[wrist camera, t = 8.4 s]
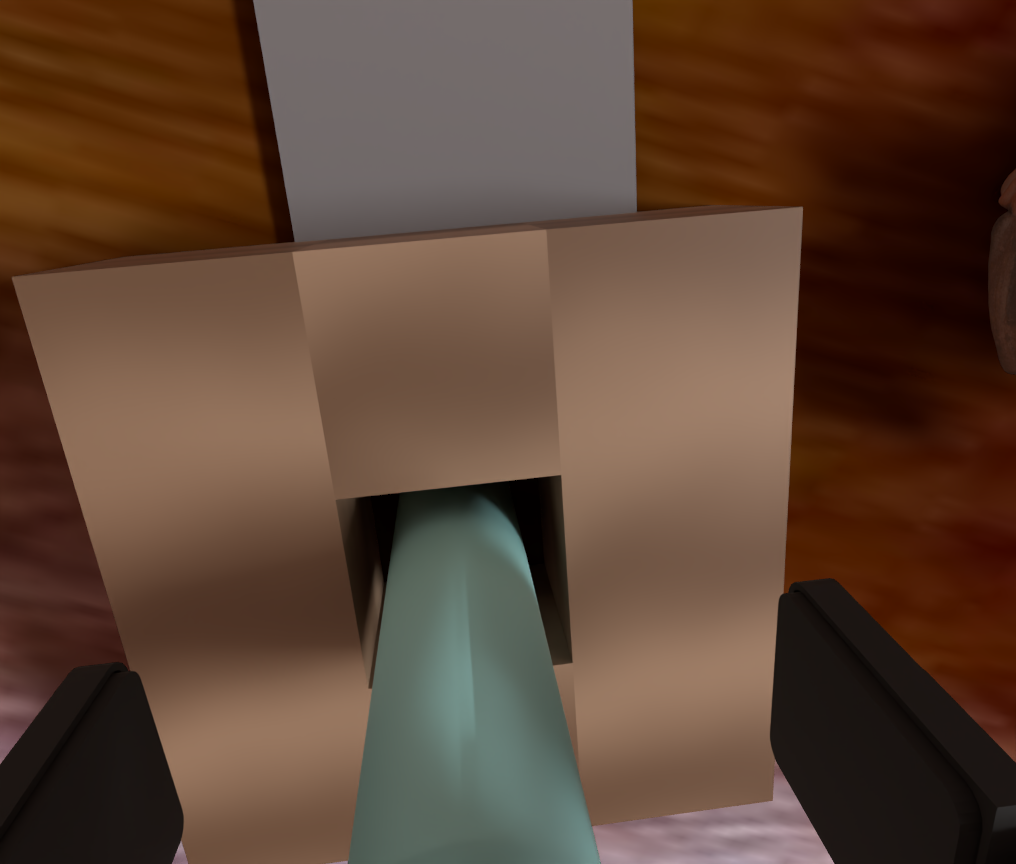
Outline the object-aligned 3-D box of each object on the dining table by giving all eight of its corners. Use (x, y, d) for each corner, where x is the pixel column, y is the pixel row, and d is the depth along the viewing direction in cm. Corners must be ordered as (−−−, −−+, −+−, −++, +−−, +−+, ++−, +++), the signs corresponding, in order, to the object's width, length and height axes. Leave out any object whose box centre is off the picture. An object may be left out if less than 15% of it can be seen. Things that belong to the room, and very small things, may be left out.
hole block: (123, 256, 16) (11, 277, 12) (713, 205, 17) (803, 206, 13) (244, 742, 21) (194, 881, 16) (707, 682, 22) (772, 800, 17)
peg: (392, 452, 18) (314, 862, 7) (506, 440, 19) (609, 820, 7) (406, 554, 19) (359, 1059, 8) (514, 541, 20) (619, 1017, 8)
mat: (216, -237, 14) (210, -249, 13) (621, -256, 14) (626, -268, 14) (305, 284, 17) (302, 286, 16) (633, 254, 17) (637, 255, 17)
